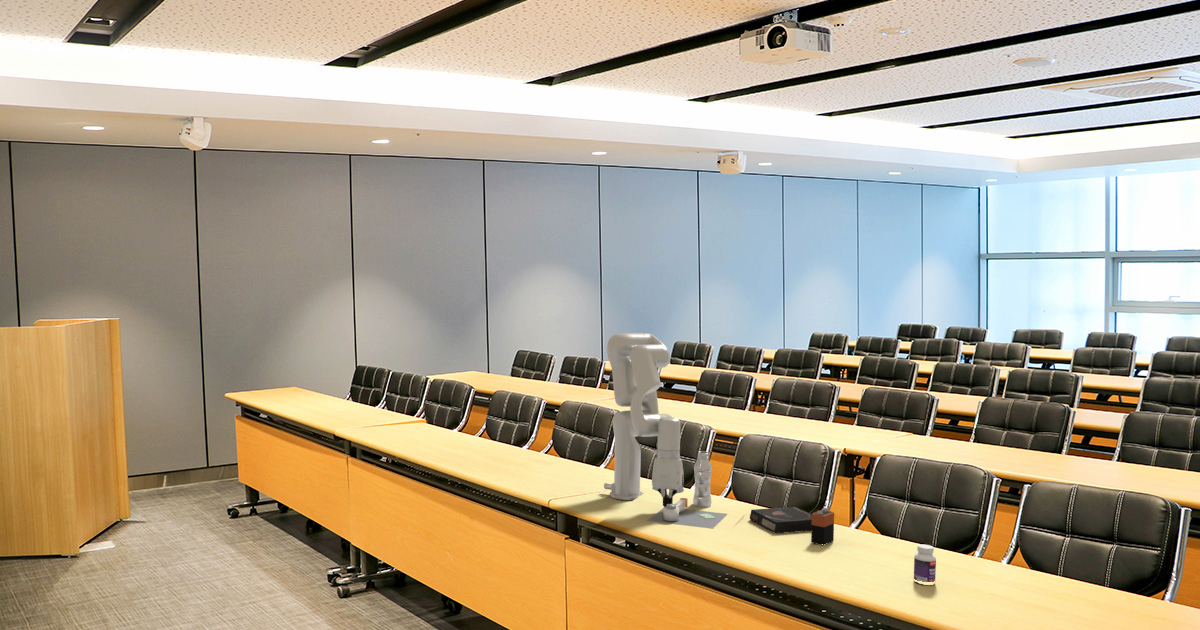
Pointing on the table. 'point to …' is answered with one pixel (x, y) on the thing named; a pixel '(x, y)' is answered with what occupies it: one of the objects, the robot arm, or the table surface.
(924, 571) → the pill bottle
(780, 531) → the flat black box
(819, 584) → the table surface
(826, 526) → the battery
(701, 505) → the plastic bottle
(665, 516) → the white bar with knob
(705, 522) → the dial board
